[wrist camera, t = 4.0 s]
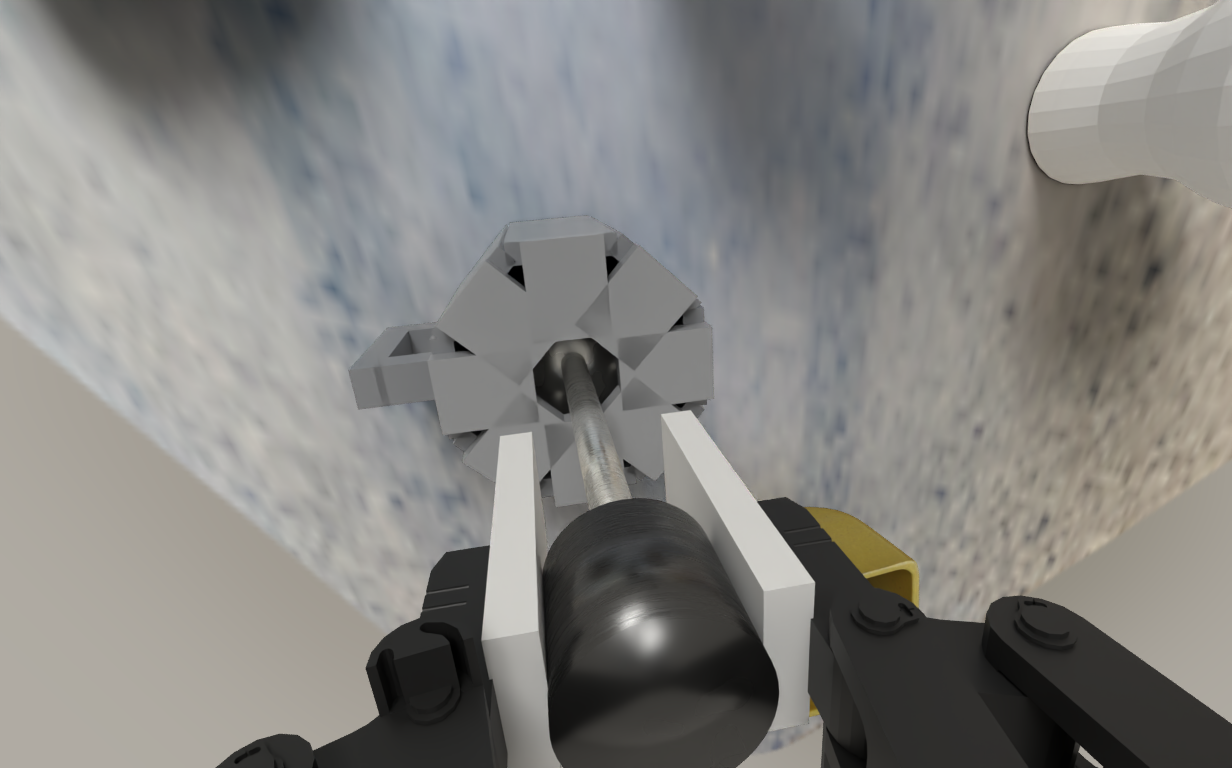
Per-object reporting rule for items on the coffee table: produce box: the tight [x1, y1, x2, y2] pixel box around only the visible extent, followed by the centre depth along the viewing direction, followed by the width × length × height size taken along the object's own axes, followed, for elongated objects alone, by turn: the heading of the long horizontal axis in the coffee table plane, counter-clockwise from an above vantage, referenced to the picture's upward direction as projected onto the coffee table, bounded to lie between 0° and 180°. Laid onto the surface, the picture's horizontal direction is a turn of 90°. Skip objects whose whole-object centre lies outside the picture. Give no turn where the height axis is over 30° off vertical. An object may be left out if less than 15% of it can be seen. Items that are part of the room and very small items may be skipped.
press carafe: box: [348, 215, 714, 507], centre depth 26 cm, size 10×14×11 cm
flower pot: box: [804, 507, 919, 717], centre depth 34 cm, size 9×9×9 cm
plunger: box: [533, 338, 779, 768], centre depth 16 cm, size 6×6×17 cm
